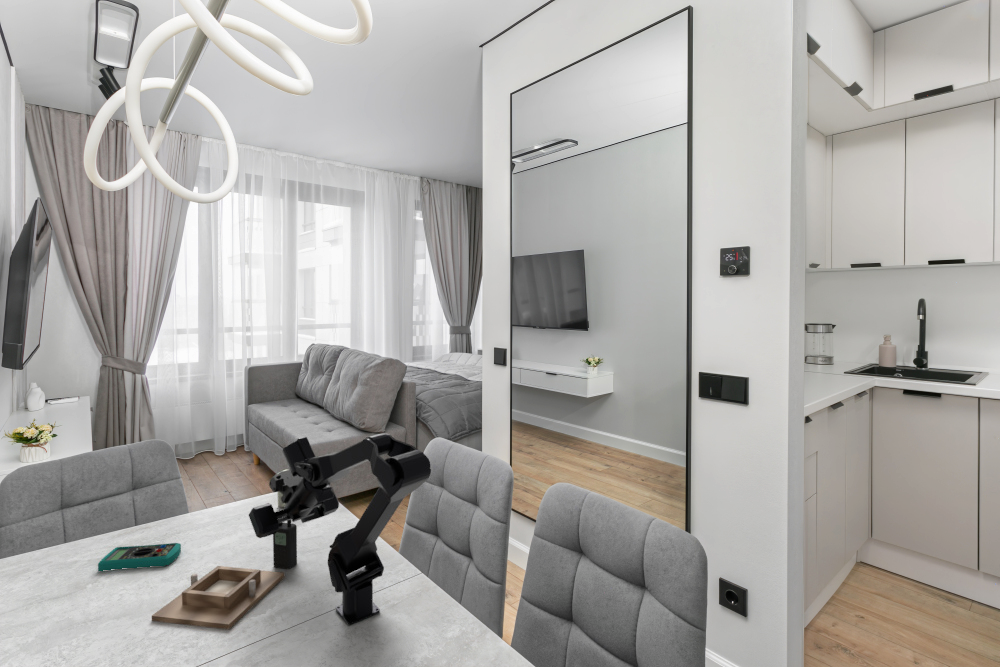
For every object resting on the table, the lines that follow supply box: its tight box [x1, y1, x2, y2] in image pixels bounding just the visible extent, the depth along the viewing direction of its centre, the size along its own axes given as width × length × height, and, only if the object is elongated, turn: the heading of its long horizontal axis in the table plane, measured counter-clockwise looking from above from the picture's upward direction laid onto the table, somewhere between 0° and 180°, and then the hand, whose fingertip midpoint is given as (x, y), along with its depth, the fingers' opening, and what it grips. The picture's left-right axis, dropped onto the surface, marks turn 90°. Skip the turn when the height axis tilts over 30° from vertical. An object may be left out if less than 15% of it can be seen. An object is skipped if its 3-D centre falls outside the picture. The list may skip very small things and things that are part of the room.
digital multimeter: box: [97, 542, 182, 572], centre depth 115 cm, size 7×15×3 cm, turn 102°
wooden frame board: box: [151, 565, 286, 631], centre depth 101 cm, size 16×18×4 cm
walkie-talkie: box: [272, 519, 298, 570], centre depth 114 cm, size 5×3×15 cm
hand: (283, 527), depth 115 cm, fingers open, 9 cm apart
